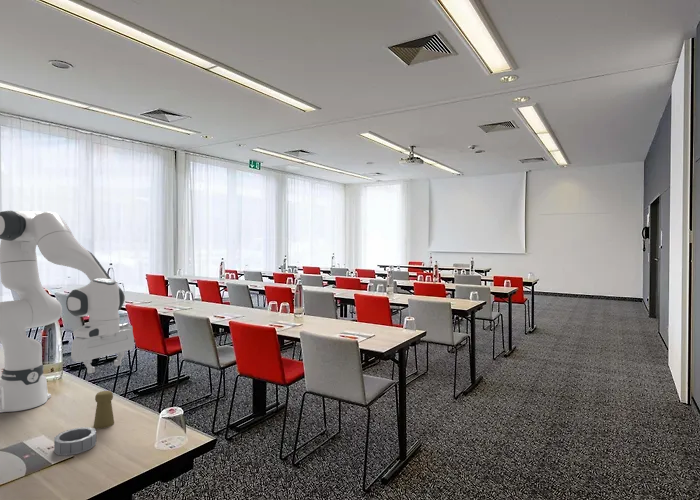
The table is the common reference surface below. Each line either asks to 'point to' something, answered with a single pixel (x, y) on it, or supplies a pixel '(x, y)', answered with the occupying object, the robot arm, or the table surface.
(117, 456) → the table surface
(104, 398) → the cork
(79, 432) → the faceted grey ring
